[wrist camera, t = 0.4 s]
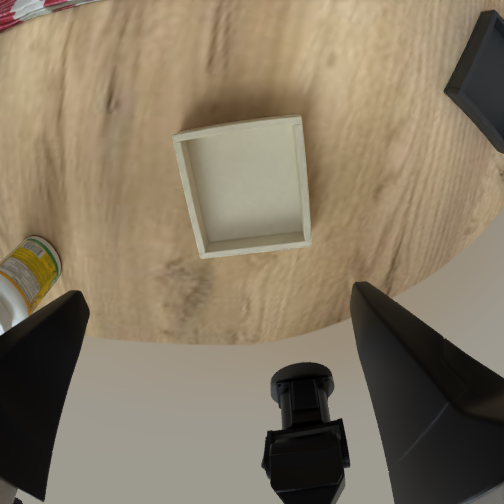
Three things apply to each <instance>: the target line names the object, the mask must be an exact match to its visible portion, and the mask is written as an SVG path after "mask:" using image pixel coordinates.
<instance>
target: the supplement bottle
mask: <svg viewBox="0 0 504 504" xmlns="http://www.w3.org/2000/svg"><path fill="white" fill-rule="evenodd" d="M60 272H61V264H60V260H59V257H58V255H57V253H56V251H55V250H54V248H53V247H52V246H51V245H50V244H49V243H48V242H47V241H46V240H44V239H42V238H40V237H36V236H31V237H28V238H26V239H25V240H24V241H23V242H22V243H20V244H19V245H18V246H17V247H16V248H15V249H14V250H13V251H12V252H11V253H10V254H9V255H7V256H6V257H5V258H4V259H3V260H2V261H1V262H0V335H2V334H3V333H5V332H6V331H8V330H9V329H11V327H12V326H15V325H17V324H18V323H20V322H21V321H23V320H24V319H26V318H27V317H29V316H30V315H31V313H32V312H33V311H34V309H35V308H36V307H37V305H38V304H39V303H40V301H41V300H42V299H43V298H44V296H45V295H46V294H47V292H48V291H49V290H50V289H51V287H52V286H53V285H54V284H55V282H56V281H57V280H58V278H59V275H60Z"/></svg>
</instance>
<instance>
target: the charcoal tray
mask: <svg viewBox="0 0 504 504" xmlns="http://www.w3.org/2000/svg"><path fill="white" fill-rule="evenodd" d="M444 93H445V94H447V95H448V96H449V97H450V98H451V99H452V100H453V101H454V102H455V103H456V104H457V105H458V106H459V107H460V108H461V109H462V110H463V112H464V113H465V114H466V115H467V116H468V117H469V118H470V119H471V120H472V121H473V122H474V123H475V124H476V126H477V127H478V128H479V129H480V130H481V131H482V132H483V134H484V135H485V136H486V137H487V138H488V140H489V141H490V142H491V143H492V144H493V146H494V147H495V148H496V149H497V151H498V152H501V153H503V154H504V20H503V19H502V17H501V16H500V15H499V14H498V13H497V12H496V11H495V10H490V11H483V12H481V14H480V17H479V19H478V21H477V24H476V26H475V28H474V31H473V33H472V35H471V37H470V40H469V42H468V44H467V46H466V48H465V50H464V52H463V54H462V57H461V59H460V61H459V63H458V65H457V67H456V69H455V71H454V73H453V75H452V77H451V79H450V81H449V83H448V85H447V86H446V88H445V90H444Z"/></svg>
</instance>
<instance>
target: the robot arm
mask: <svg viewBox="0 0 504 504" xmlns="http://www.w3.org/2000/svg"><path fill="white" fill-rule="evenodd" d="M350 312H351V318H352V323H353V328H354V333H355V339H356V345H357V350H358V354H359V358H360V361H361V365H362V368H363V372H364V375H365V379H366V382H367V386H368V389H369V392H370V396H371V400H372V404H373V408H374V412H375V416H376V420H377V423H378V428H379V431H380V435H381V440H382V444H383V448H384V453H385V457H386V462H387V466H388V471H390V472H389V477H390V482H391V486H392V492H393V497H394V502H395V504H504V378H503V377H501V376H500V375H498V374H497V373H495V372H493V371H492V370H490V369H489V368H487V367H486V366H484V365H483V364H481V363H480V362H478V361H477V360H475V359H473V358H472V357H471V356H469V355H468V354H466V353H465V352H463V351H462V350H461V349H459V348H458V347H456V346H455V345H454V344H452V343H451V342H450V341H448V340H447V339H444V337H443V336H442V335H440V334H439V333H438V332H436V331H435V330H434V329H432V328H431V327H429V326H428V325H427V324H425V323H424V322H423V321H421V320H420V319H419V318H417V317H416V316H415V315H413V314H412V313H410V312H409V311H408V310H406V309H405V308H404V307H402V306H401V305H399V304H398V303H397V302H395V301H394V300H392V299H391V298H390V297H388V296H387V295H385V294H384V293H383V292H381V291H380V290H378V289H377V288H376V287H374V286H373V285H371V284H370V283H368V282H366V281H364V282H355V283H354V284H353V288H352V294H351V300H350ZM89 315H90V311H89V307H88V305H87V303H86V301H85V298H84V296H83V294H82V292H81V291H79V290H71V291H68V292H67V293H65V294H64V295H62V296H60V297H59V298H57V299H55V300H54V301H52V302H51V303H49V304H48V305H46V306H44V307H43V308H41V309H40V310H38V311H36V312H35V313H33V314H32V315H30V316H29V317H27V318H26V319H24V320H23V321H21V322H20V323H18V324H17V325H15V326H14V327H12V328H11V329H9V330H8V331H6V332H5V333H3V334H2V335H0V504H23V503H22V501H21V500H19V499H18V498H16V497H15V496H16V493H17V489H20V490H21V491H23V492H25V493H27V494H28V495H30V496H32V497H34V498H36V499H38V500H40V501H42V502H44V500H45V494H46V487H47V480H48V474H49V468H50V463H51V457H52V451H53V447H54V442H55V438H56V433H57V429H58V425H59V420H60V417H61V413H62V409H63V406H64V402H65V398H66V395H67V391H68V388H69V385H70V381H71V378H72V375H73V372H74V369H75V366H76V362H77V360H78V357H79V353H80V350H81V346H82V342H83V338H84V334H85V330H86V326H87V323H88V319H89ZM329 383H330V378H329V375H321V376H314V377H306V378H298V379H288V380H279V381H276V392H277V398H278V404H279V408H280V409H281V415H282V430H277V431H272V430H271V431H267V437H266V441H265V451H264V457H263V460H262V468H263V469H265V471H266V474H267V476H268V478H269V479H271V481H270V484H271V487H272V488H273V490H274V491H275V492H276V494H277V495H278V496H279V498H280V499H281V500H282V501H283V503H284V504H336V502H337V500H338V498H339V497H340V494H341V493H342V491H343V489H344V487H345V474H344V468H348V467H350V459H349V452H348V446H347V440H346V435H345V430H344V425H343V420H342V418H341V419H338V420H334V421H330V414H329V408H328V393H329Z"/></svg>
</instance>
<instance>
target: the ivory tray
mask: <svg viewBox="0 0 504 504" xmlns="http://www.w3.org/2000/svg"><path fill="white" fill-rule="evenodd" d="M172 139H173V142H174V148H175V153H176V158H177V163H178V167H179V172H180V176H181V181H182V185H183V189H184V194H185V198H186V202H187V206H188V211H189V215H190V219H191V223H192V227H193V231H194V235H195V239H196V243H197V247H198V251H199V255H200V259H206V258H215V257H224V256H232V255H241V254H250V253H259V252H267V251H276V250H285V249H294V248H302V247H311V246H312V240H311V239H312V237H311V219H310V204H309V190H308V177H307V166H306V155H305V144H304V135H303V125H302V117H301V116H300V115H298V114H292V115H282V116H272V117H264V118H256V119H248V120H241V121H234V122H228V123H222V124H216V125H210V126H205V127H199V128H194V129H189V130H184V131H179V132H178V133H176V134H174V135H172Z"/></svg>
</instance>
